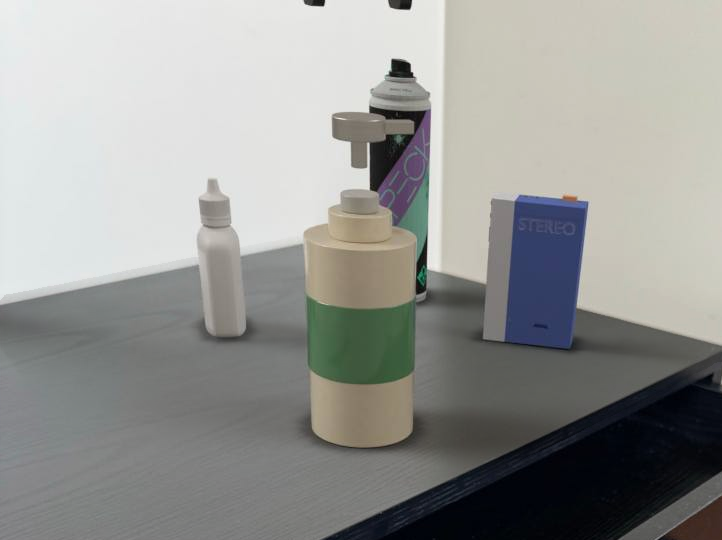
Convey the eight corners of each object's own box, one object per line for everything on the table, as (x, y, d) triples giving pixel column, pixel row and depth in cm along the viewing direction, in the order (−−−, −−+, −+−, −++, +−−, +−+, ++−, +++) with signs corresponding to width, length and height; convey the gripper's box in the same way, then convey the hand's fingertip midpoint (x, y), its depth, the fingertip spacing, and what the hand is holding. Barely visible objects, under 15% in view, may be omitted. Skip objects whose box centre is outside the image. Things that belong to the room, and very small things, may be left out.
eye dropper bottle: (187, 334, 83) (169, 181, 76) (218, 315, 87) (204, 169, 80) (234, 342, 82) (221, 188, 75) (263, 322, 86) (252, 175, 79)
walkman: (572, 339, 87) (589, 196, 80) (569, 349, 85) (586, 203, 78) (487, 329, 88) (496, 187, 81) (481, 339, 86) (490, 193, 79)
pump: (341, 172, 58) (340, 120, 56) (326, 162, 60) (325, 111, 58) (420, 171, 60) (421, 120, 58) (402, 161, 62) (403, 111, 60)
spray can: (359, 292, 95) (355, 55, 84) (403, 284, 98) (405, 55, 87) (393, 307, 92) (394, 63, 80) (437, 298, 95) (445, 62, 83)
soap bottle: (327, 453, 65) (318, 208, 56) (299, 412, 71) (287, 181, 62) (428, 441, 68) (435, 204, 59) (393, 402, 73) (395, 179, 64)
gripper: (463, -388, 50) (449, 7, 60) (179, -445, 45) (216, -4, 55) (525, -424, 44) (499, 18, 54) (210, -494, 39) (245, 7, 49)
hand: (357, 5), depth 55 cm, fingers open, 4 cm apart
